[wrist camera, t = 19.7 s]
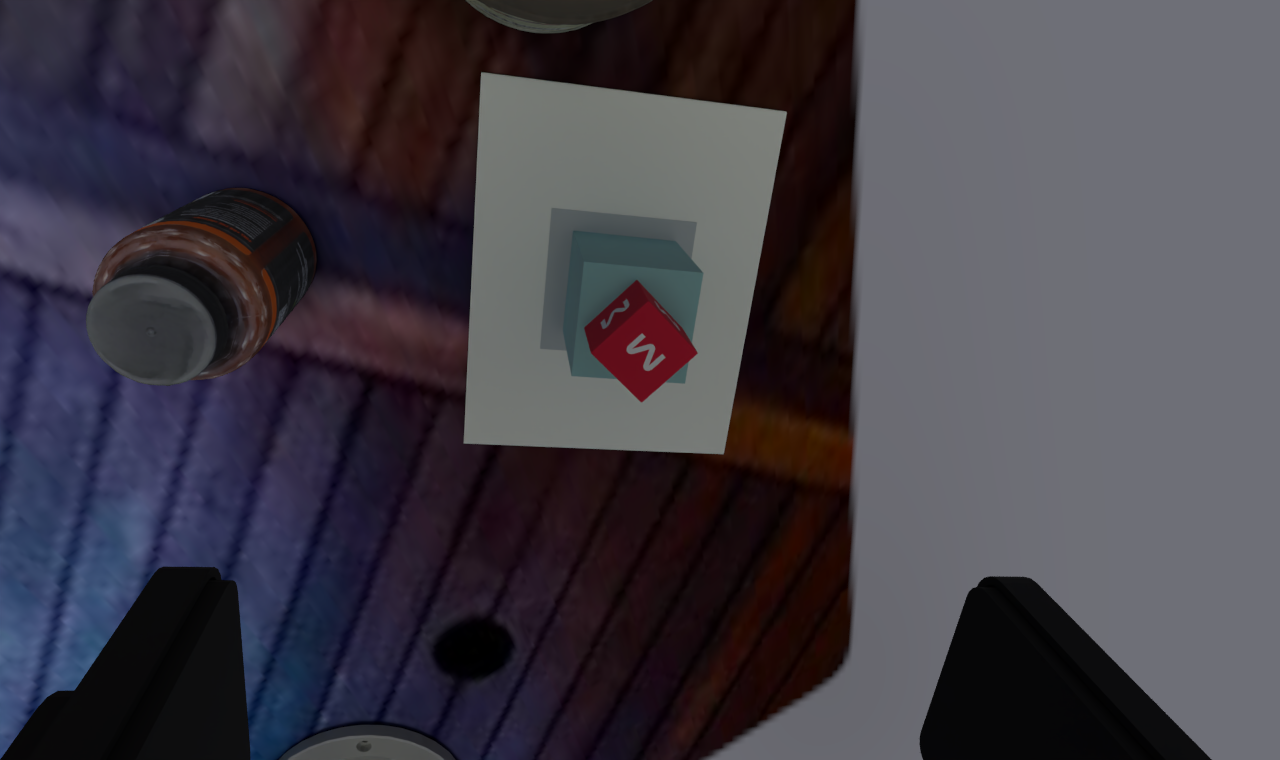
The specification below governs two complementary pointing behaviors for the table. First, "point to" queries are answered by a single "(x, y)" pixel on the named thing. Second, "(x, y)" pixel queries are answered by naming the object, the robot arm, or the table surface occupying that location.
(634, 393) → the red letter cube
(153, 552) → the table surface
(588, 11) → the coffee can
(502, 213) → the pad
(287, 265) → the supplement bottle
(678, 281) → the teal block
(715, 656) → the table surface
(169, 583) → the robot arm
